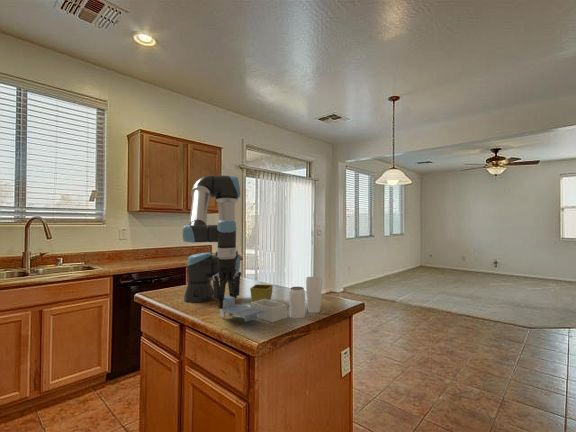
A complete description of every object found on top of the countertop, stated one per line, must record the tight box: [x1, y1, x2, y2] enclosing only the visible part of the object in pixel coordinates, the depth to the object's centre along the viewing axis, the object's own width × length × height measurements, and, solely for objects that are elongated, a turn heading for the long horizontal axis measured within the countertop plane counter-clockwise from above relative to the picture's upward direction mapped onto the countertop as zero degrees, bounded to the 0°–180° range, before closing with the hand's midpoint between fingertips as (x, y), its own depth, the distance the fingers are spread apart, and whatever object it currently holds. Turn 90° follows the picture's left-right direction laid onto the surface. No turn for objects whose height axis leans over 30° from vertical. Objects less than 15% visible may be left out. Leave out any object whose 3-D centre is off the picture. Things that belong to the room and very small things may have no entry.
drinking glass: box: [305, 276, 323, 314], centre depth 137 cm, size 7×7×15 cm
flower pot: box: [249, 283, 274, 302], centre depth 148 cm, size 9×9×9 cm
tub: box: [250, 299, 287, 323], centre depth 129 cm, size 13×8×6 cm, turn 47°
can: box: [289, 286, 306, 319], centre depth 130 cm, size 6×6×12 cm
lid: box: [222, 295, 263, 322], centre depth 123 cm, size 19×9×6 cm, turn 47°
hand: (226, 315), depth 128 cm, fingers closed on lid, 3 cm apart
